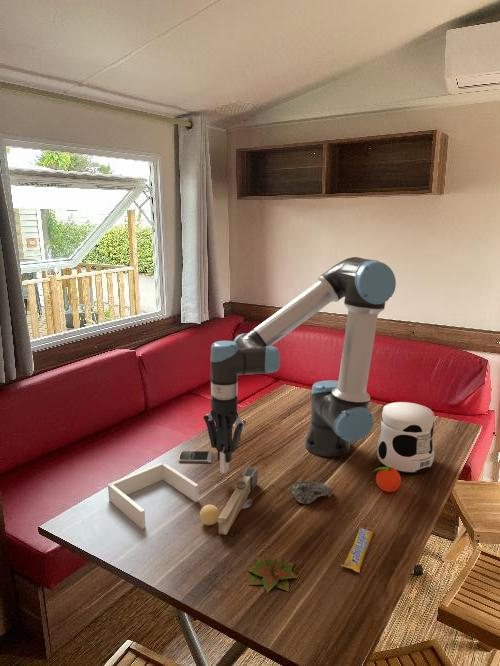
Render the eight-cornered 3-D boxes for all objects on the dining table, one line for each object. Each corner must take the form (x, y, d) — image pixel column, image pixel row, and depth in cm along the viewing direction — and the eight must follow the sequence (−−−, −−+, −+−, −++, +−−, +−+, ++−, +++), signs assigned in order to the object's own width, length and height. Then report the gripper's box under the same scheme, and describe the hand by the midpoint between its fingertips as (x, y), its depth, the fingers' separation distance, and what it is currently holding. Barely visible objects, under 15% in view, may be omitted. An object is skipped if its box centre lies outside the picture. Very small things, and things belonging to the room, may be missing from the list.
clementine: (370, 493, 139) (371, 471, 138) (373, 481, 146) (374, 459, 144) (399, 498, 137) (401, 475, 135) (401, 486, 143) (402, 464, 141)
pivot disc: (254, 498, 137) (254, 497, 137) (248, 510, 132) (248, 509, 132) (234, 495, 139) (234, 494, 139) (227, 507, 133) (227, 506, 133)
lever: (257, 482, 144) (257, 466, 143) (228, 535, 121) (228, 516, 119) (247, 480, 145) (246, 464, 144) (216, 533, 122) (216, 514, 120)
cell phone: (180, 454, 163) (180, 450, 163) (213, 455, 163) (213, 451, 163) (177, 464, 157) (177, 460, 157) (212, 464, 157) (211, 460, 157)
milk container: (382, 447, 167) (385, 397, 162) (435, 457, 159) (440, 406, 155) (370, 470, 152) (373, 416, 147) (429, 483, 144) (434, 427, 140)
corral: (198, 500, 136) (198, 484, 135) (142, 528, 124) (140, 511, 123) (163, 477, 149) (162, 462, 148) (109, 500, 137) (107, 484, 136)
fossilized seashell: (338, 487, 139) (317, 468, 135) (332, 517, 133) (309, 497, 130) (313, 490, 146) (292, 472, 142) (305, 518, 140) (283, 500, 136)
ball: (222, 519, 128) (221, 502, 127) (215, 530, 123) (214, 513, 122) (204, 516, 129) (203, 499, 128) (197, 527, 125) (196, 510, 124)
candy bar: (358, 528, 125) (359, 522, 124) (375, 533, 123) (375, 527, 122) (340, 571, 110) (340, 564, 109) (358, 577, 108) (359, 570, 108)
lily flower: (302, 561, 113) (302, 544, 112) (295, 600, 102) (295, 582, 101) (251, 554, 116) (251, 537, 115) (239, 591, 104) (239, 573, 103)
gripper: (197, 395, 138) (198, 471, 144) (238, 404, 133) (237, 482, 138) (211, 387, 145) (212, 460, 150) (250, 395, 139) (250, 470, 145)
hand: (224, 470), depth 144 cm, fingers closed
